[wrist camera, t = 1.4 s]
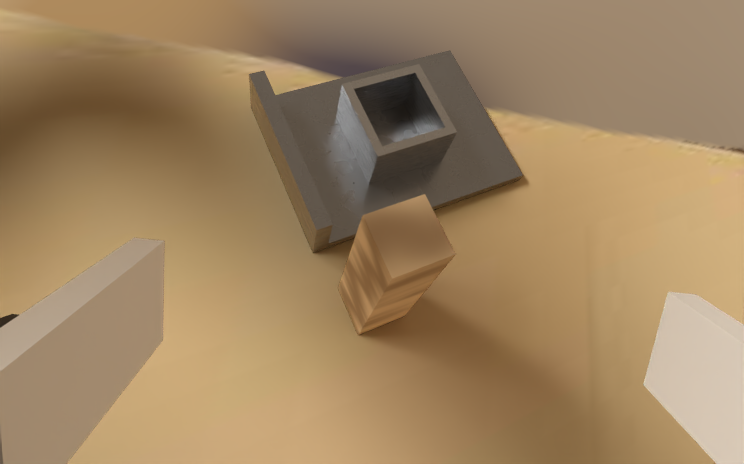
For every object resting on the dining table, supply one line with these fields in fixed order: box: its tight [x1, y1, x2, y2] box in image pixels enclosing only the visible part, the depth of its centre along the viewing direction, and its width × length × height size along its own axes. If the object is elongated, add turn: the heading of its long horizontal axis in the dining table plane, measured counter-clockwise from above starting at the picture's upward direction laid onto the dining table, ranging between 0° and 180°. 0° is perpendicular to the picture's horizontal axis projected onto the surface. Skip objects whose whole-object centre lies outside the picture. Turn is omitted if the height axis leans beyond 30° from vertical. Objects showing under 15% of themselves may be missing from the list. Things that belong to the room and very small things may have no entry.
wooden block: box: [338, 194, 456, 335], centre depth 41 cm, size 4×4×15 cm
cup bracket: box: [249, 51, 523, 253], centre depth 52 cm, size 16×22×6 cm
